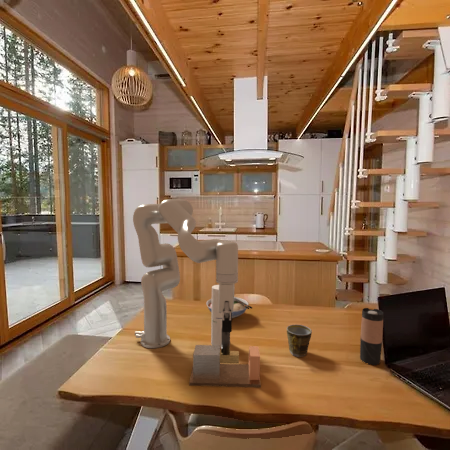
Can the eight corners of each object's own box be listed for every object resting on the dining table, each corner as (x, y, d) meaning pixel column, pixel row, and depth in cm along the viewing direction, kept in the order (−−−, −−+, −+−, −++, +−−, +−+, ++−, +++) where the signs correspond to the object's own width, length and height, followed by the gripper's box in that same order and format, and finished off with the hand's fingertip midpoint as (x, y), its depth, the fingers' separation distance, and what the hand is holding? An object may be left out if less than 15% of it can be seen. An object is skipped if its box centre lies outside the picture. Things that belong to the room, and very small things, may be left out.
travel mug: (372, 367, 113) (375, 316, 111) (355, 357, 120) (357, 309, 118) (385, 362, 116) (388, 313, 115) (367, 353, 123) (370, 306, 121)
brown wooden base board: (189, 385, 100) (189, 358, 100) (193, 365, 112) (193, 341, 112) (260, 387, 100) (261, 360, 99) (257, 367, 112) (258, 343, 111)
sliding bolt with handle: (194, 362, 104) (194, 329, 103) (195, 358, 107) (195, 325, 106) (238, 363, 104) (239, 330, 103) (238, 359, 107) (239, 326, 106)
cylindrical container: (225, 348, 126) (226, 290, 124) (209, 346, 127) (210, 288, 125) (228, 340, 133) (229, 285, 131) (213, 338, 134) (214, 284, 132)
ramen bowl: (199, 311, 166) (199, 297, 166) (235, 305, 176) (235, 292, 175) (216, 329, 144) (217, 313, 143) (257, 321, 153) (258, 306, 153)
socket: (249, 379, 102) (250, 356, 102) (248, 368, 109) (249, 346, 109) (259, 380, 102) (260, 356, 102) (257, 368, 109) (258, 346, 109)
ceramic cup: (290, 344, 130) (291, 322, 129) (313, 351, 125) (314, 327, 124) (279, 358, 118) (280, 334, 118) (305, 365, 113) (306, 340, 113)
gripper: (217, 271, 112) (217, 316, 113) (214, 284, 94) (215, 336, 96) (237, 271, 112) (237, 316, 113) (238, 284, 94) (238, 336, 96)
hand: (227, 325), depth 104 cm, fingers open, 9 cm apart
